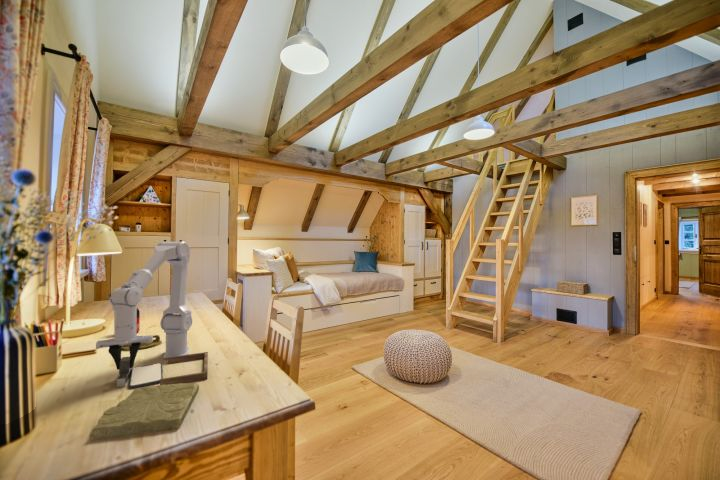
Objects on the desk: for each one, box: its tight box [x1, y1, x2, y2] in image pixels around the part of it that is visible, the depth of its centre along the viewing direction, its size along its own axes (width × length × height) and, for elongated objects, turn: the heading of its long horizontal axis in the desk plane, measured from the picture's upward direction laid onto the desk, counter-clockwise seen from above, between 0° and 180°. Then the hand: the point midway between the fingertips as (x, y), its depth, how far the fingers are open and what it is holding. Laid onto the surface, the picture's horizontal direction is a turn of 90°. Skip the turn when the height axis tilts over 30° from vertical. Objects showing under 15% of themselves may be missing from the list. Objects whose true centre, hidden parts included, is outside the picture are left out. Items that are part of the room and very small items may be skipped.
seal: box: [121, 334, 163, 352], centre depth 132 cm, size 9×5×15 cm
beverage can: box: [137, 307, 141, 334], centre depth 151 cm, size 6×6×12 cm
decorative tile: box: [90, 382, 200, 441], centre depth 82 cm, size 19×20×4 cm
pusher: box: [116, 356, 133, 388], centre depth 101 cm, size 12×2×6 cm, turn 28°
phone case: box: [128, 362, 164, 390], centre depth 103 cm, size 9×2×16 cm
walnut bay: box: [159, 351, 209, 385], centre depth 108 cm, size 21×13×2 cm, turn 25°
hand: (125, 367), depth 101 cm, fingers closed on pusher, 3 cm apart
